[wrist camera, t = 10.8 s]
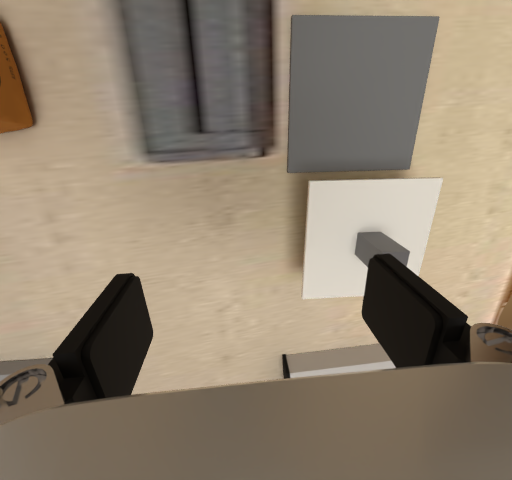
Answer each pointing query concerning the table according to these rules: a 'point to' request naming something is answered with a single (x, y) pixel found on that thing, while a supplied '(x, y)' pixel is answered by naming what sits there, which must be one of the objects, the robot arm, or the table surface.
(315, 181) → the square lid with handle
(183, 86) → the table surface
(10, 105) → the coffee package
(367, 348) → the disc drive
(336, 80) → the mat
